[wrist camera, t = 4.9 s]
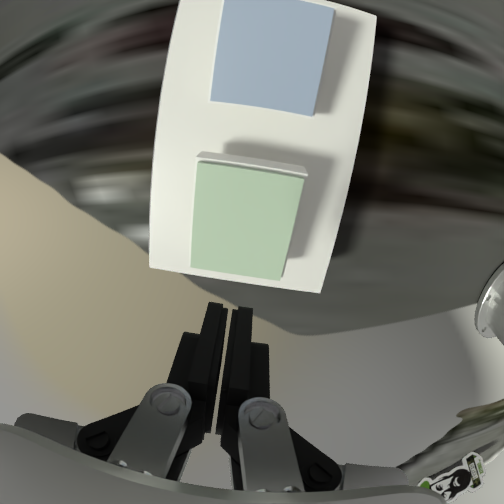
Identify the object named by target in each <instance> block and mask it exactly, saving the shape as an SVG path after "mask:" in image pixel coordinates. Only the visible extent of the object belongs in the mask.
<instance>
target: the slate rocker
mask: <svg viewBox="0 0 504 504" xmlns="http://www.w3.org/2000/svg"><path fill="white" fill-rule="evenodd" d="M336 10H337V7H333V6H330V5H326V4H322V3H317V2H313V1H308V0H222V3H221V9H220V15H219V21H218V27H217V34H216V41H215V48H214V55H213V62H212V70H211V78H210V86H209V95H208V103H213V104H223V105H232V106H240V107H247V108H254V109H261V110H267V111H273V112H279V113H284V114H290V115H295V116H300V117H305V118H309V119H314V117H315V113H316V108H317V104H318V99H319V94H320V90H321V85H322V80H323V76H324V71H325V66H326V61H327V56H328V51H329V47H330V41H331V36H332V31H333V26H334V21H335V16H336Z"/></svg>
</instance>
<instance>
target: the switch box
mask: <svg viewBox="0 0 504 504" xmlns="http://www.w3.org/2000/svg"><path fill="white" fill-rule="evenodd" d="M308 1H313V2H317V3H322V4H326V5H330V6H333V7H337V10H336V16H335V21H334V26H333V31H332V36H331V41H330V47H329V51H328V56H327V61H326V66H325V71H324V76H323V80H322V85H321V90H320V94H319V99H318V104H317V108H316V113H315V117H314V119H309V118H305V117H300V116H295V115H290V114H284V113H279V112H273V111H267V110H261V109H254V108H247V107H240V106H232V105H223V104H213V103H208V95H209V86H210V78H211V70H212V62H213V55H214V48H215V41H216V34H217V27H218V21H219V15H220V9H221V3H222V0H180V1H179V5H178V9H177V13H176V17H175V21H174V26H173V30H172V34H171V39H170V44H169V49H168V54H167V59H166V64H165V70H164V76H163V82H162V88H161V94H160V101H159V108H158V116H157V124H156V133H155V142H154V152H153V164H152V177H151V193H150V214H149V259H150V260H149V264H150V265H149V266H150V267H151V268H157V269H162V270H168V271H174V272H180V273H186V274H192V275H198V276H204V277H210V278H217V279H223V280H230V281H236V282H243V283H250V284H256V285H263V286H270V287H278V288H285V289H292V290H300V291H307V292H315V293H320V291H321V288H322V285H323V281H324V278H325V275H326V271H327V268H328V265H329V261H330V258H331V254H332V251H333V247H334V243H335V240H336V236H337V232H338V228H339V225H340V221H341V217H342V213H343V209H344V205H345V201H346V197H347V192H348V188H349V184H350V179H351V175H352V170H353V166H354V161H355V157H356V152H357V147H358V142H359V137H360V132H361V126H362V121H363V115H364V109H365V104H366V97H367V91H368V85H369V78H370V71H371V63H372V56H373V47H374V38H375V29H376V18H377V16H375V15H372V14H369V13H366V12H363V11H360V10H357V9H354V8H351V7H347V6H344V5H340V4H337V3H333V2H329V1H325V0H308ZM201 151H207V152H215V153H223V154H231V155H238V156H245V157H251V158H258V159H264V160H270V161H276V162H282V163H287V164H293V165H298V166H303V167H305V169H306V171H307V173H308V176H307V180H306V185H305V189H304V194H303V198H302V202H301V206H300V211H299V215H298V219H297V223H296V227H295V231H294V235H293V239H292V243H291V247H290V251H289V255H288V259H287V263H286V267H285V271H284V275H283V279H282V280H280V281H276V280H269V279H262V278H256V277H249V276H242V275H236V274H229V273H222V272H216V271H210V270H203V269H197V268H191V267H190V266H189V244H190V225H191V209H192V194H193V181H194V170H195V159H196V156H197V155H198V154H199V153H200V152H201Z"/></svg>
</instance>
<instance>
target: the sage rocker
mask: <svg viewBox="0 0 504 504" xmlns="http://www.w3.org/2000/svg"><path fill="white" fill-rule="evenodd" d="M307 176H308V173H307V171H306V169H305V167H303V166H298V165H293V164H287V163H282V162H276V161H270V160H264V159H258V158H251V157H245V156H238V155H231V154H223V153H215V152H207V151H201V152H200V153H199V154H198V155H197V156H196V159H195V170H194V181H193V194H192V209H191V225H190V244H189V266H190V267H191V268H197V269H203V270H210V271H216V272H222V273H229V274H236V275H242V276H249V277H256V278H262V279H269V280H276V281H280V280H282V279H283V275H284V271H285V267H286V263H287V259H288V255H289V251H290V247H291V243H292V239H293V235H294V231H295V227H296V223H297V219H298V215H299V211H300V206H301V202H302V198H303V194H304V189H305V185H306V180H307Z"/></svg>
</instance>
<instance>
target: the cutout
mask: <svg viewBox="0 0 504 504" xmlns="http://www.w3.org/2000/svg"><path fill="white" fill-rule="evenodd" d="M462 463H463V466H458V467H456V468H454V469H453V470H451V471H450V472H449V473H444V474H441V475H440V476H438V477H437V478H436V479H435V480H432V479H431V478H424V479H423V480H421V481H420V483H419V484H418V485H417V486H419V487H424V488H427V489H431V490H433V491H436V492H437V493H439V494H440V495H441V496H442V497H443V498H444V499H445V501H446V502H447V504H450V503H452V502H454V501H455V500H456V499H457V498H458V497H459V496H460V495H461V494H464V493H465V492H467V491H469V492H472V493H473V492H475V491H476V490H478V489H480V488H481V487H482V486H483V484H484V483H483V479H482V477H483V476H484V475H485V473H486V469H485V466H484V463H483V458H482V457H481V456H479V454H477V453H475V452H471V453H469V454H468V455H466V456H465V457H463V459H462Z"/></svg>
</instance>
